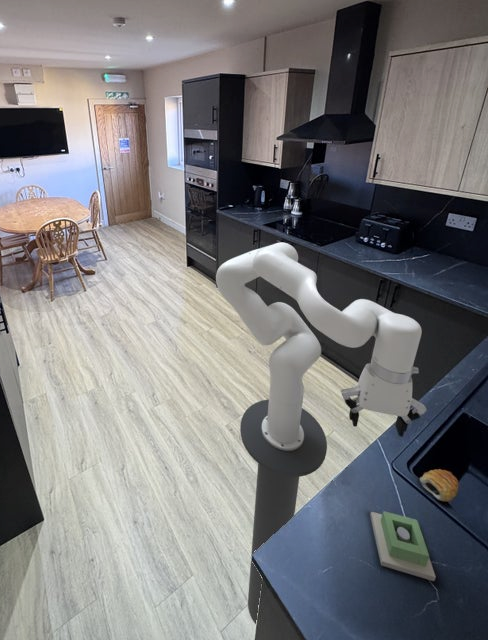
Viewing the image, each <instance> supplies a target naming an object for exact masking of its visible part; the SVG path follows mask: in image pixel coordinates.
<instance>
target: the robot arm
mask: <svg viewBox="0 0 488 640" xmlns="http://www.w3.org/2000/svg"><path fill="white" fill-rule="evenodd" d="M298 261H299V254H298V252H297V250H296V248H295V247H294V246H292V245H291V244H289V243H286V242H276V243H273V244H270V245H267V246H263V247H260V248H257V249H253V250H249V251H248V252H245V253H243V254H239V255H237V256H235V257H232V258H230V259H228V260H226V261H225V262H223V263H222V264H220V265H219V267H218V269H217V271H216V273H215V284H216V287H217V290H218V291H219V293H220V295H221V296H222V297H223V298H224V300H225V301H226V302H227V303H228V304H229V305H230V306H231V307H232V308H233V309H234V311H235V312H236V313H237V314H238V317H239V318H240V320H241V321H242V322H243V323H244V325H245V326H246V328H247V329H248V331H249V332H250V333H251V335H252V336H253V338H254V339H255V340H256V341H257V342H258V343H259V344H260V345H262V346H271V345H272V344H275V343H276V342H277V341H279V340H281V339H282V338H284V339H285V340H284V341H283V342H282V343H281V344H279V345H278V346H277V347H276V348H275V349H274V350H273V351H272V352H271V353H270V355H269V358H268V368H269V375H270V376H269V377H270V379H269V380H270V381H269V392H268V399H269V405H268V416H266V417H265V418H264V420H263V422H262V433H263V436H264V438H265V439H266V440H267V441H268V442H269V443H270V444H271V445H272V446H274V447H275V448H278V449H280V450H285V451H291V450H295V449H297V448H299V447H300V446H301V445H302V443H303V440H304V432H303V429H302V427H301V425H300V419H301V411H302V408H303V403H304V402H303V401H304V394H305V385H304V382H303V378H304V376H305V374H306V373H307V372H308V370H309V369H311V368H312V366H313V365H314V364H315V363H316V362H317V361H318V360H319V358H320V357H321V355H322V346H321V344H320V341H319V340H318V338H317V337H316V335H315V334H314V333H313V331H312V330H311V329H310V328H309V326H308V325H307V324H306V323H305V321H304V320H303V318H302V317H301V316H300V315H299V313H298V312H297V311H296V310H295V309H294V308H293V307H292V306H291V305H289V304H287V303H285V302H281V301H277V302H276V301H275V302H273V303H271V304H269V305H267V304H266V303H265V301H264V300H263V299H262V298H261V296H260V295H259V294H258V293H257V292H256V291H254V290H253V289H251V288H249V287H247V286H246V284H247V283H250V282H251V281H253V280H255V279H257V278H259V277H260V278H262V279H263V280H264V281H267V282H268V283H269V284H271V285H272V286H274V287H276V288H278V289H279V290H281V291H282V292H283V293H285V294H287V295H288V296H290V297H291V298H292V299H294V300H295V301H296V302H297V304H298V306H299V308H300V311H301V312H302V313H303V315H304V317H305V318H306V320H307V321H308V322H309V323H310V324H311V325H312V326H313V327H314V328H315V329H316V330H318V331H319V332H320V333H322V334H323V335H325V336H326V337H327V338H329V339H331V340H332V341H334V342H336V343H337V344H339V345H341V346H343V347H346V348H352V349H354V348H360V347H362V346H364V345H365V344H366V343H367V342H368V341H369V340H370V339H371V337H372V336H374V338H375V341H374V346H373V349H372V355H371V360H370V362H369V363H366V364H365V366H364V367H363V369H362V371H361V374H360V376H359V378H358V382H357V384H356V386H354V387H348V388H343V389H341V390H340V392H341V396H342V398H343V401H344V404H346V406H347V407H348V409H349V414H348V419H349V421H351V422H352V426H353V427H355V428H356V427H357V426H358V422H359V419H360V412H361V411H362V410H367V411H370V412H375V413H380V414H385V415H391V416H395V417H396V421H395V425H394V426H395V429H396V432H397V434H398V436H399V437H402V438H403V437H404V434H405V433H407V430H408V426H409V425H411V424H412V422H413V421H415V420H418V419H420V418H421V416H423V415H424V414H425V413H426V412H428V409H427V408H426V405H424V403H423V402H422V403H421V402H420V401H419V400H417V399H415V398H413V378H412V376H413V375H414V374H415V375H418V374H419V373H420V372H419V367H417V366H414V363H415V360H416V356H417V352H418V349H419V345H420V341H421V338H422V333H423V332H422V331H423V330H422V326H421V325H420V324H419V322H417V320H415V319H414V318H412V317H410V316H407V315H405V314H400V313H395V312H393V311H391V310H389V309H387V308H385V307H384V306H382V305H380V304H378V303H376V302H375V301H372V300H370V299H367V298H366V299H365V298H360V299H356V300H354V301H353V302H351V303H350V304H349V305H348V306H346V307H345V308H344V309H343V310H342V311H341V310H340V309H338V308H337V307H335V306H334V305H332V304H330V302H328V301H326V300H325V299H324V298H323V297H322V296H321V294H320V293H319V291H318V288H317V280H318V276H317V273H316V272H315V271H313V270H312V269H310V268H308V267H307V266H305V265H303V264H301V263H300V262H298ZM354 396H356V397H354ZM351 397H354V398H351ZM411 407H413V408H412V409H411Z"/></svg>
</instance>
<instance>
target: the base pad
mask: <svg viewBox="0 0 488 640" xmlns="http://www.w3.org/2000/svg"><path fill="white" fill-rule="evenodd" d="M369 517H370V521H371V527H372V530H373V535H374V540H375V544H376V548H377V553H378V557H379V561H380V565H381V566H382V567H385V568H389V569H392V570H394V571H395V570H396V571H398V572H401V573H406V574H409V575H412V576H415V577H419V578H421V579H425V580H428V581H430V582H431V581H432V582H435V581H436V578H437V576H436V574H435V571H434V568H433V564H432V562H431V558H430V557H429V559H428V562H427V565H426V567H425V566H422V565H418V564H415V563H412V562H408V561H405V560H402V559H398V558H395V557H391V556H389V553H388V549H387V545H386V541H385V537H384V533H383V529H382V525H381V517H382V513H378V512H374V511H370V515H369ZM395 532H396V531H395ZM396 536H397V540H399V541H402V542H406V543H409V544H412V543H411V540H410V535H409V533H408V531H407V530H406V529H405V528H403V527H398V528H397V532H396Z"/></svg>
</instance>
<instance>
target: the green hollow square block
mask: <svg viewBox="0 0 488 640" xmlns="http://www.w3.org/2000/svg"><path fill="white" fill-rule="evenodd" d="M381 514H382V517H381V525H382V529H383V533H384V537H385V541H386V545H387V549H388V553H389V556H391V557H395V558H398V559H402V560H405V561H408V562H412V563H415V564H418V565H422V566H425V567H426V565H427V562H428V559H429V558H430V554H429V551H428V548H427V545H426V542H425V539H424V536H423V533H422V530H421V527H420V524H419V520H418V519H415V518H412V517H407V516H403V515H400V514H397V513H393V512H390V511H384V510H383V511H382V513H381ZM398 527H403V528H405V529H406V530H407V531H408V533H409V535H410V540H411V543H412V544H409V543H406V542H402V541H399V540H397V536H396V532H397V528H398ZM395 531H396V532H395Z"/></svg>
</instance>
